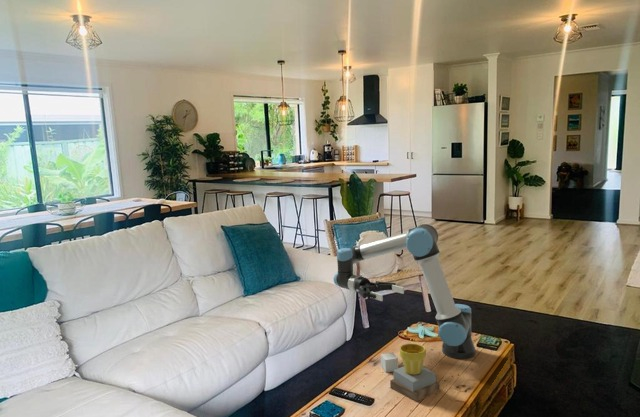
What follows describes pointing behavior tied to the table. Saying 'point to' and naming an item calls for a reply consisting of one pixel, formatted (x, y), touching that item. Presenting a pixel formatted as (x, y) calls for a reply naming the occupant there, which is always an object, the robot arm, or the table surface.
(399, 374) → the gray square slab
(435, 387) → the walnut base slab
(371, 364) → the table surface
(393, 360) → the matte white cube
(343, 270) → the robot arm
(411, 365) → the plant pot
